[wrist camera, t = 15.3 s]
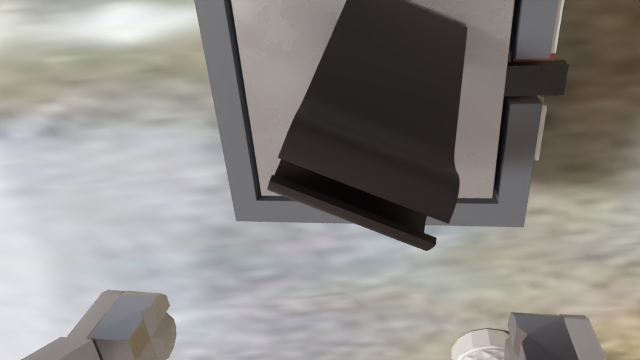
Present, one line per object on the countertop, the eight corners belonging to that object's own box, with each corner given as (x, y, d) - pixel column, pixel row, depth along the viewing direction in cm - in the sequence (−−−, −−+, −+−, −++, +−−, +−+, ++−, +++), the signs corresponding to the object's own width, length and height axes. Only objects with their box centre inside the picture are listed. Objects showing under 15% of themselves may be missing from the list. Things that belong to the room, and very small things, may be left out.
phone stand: (355, -21, 24) (319, 37, 13) (467, 26, 24) (517, 118, 14) (297, 134, 28) (237, 266, 18) (392, 171, 29) (386, 322, 18)
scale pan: (585, -75, 22) (594, -74, 21) (541, 188, 29) (546, 199, 28) (231, -49, 25) (223, -47, 24) (266, 186, 32) (261, 195, 31)
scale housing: (538, -119, 28) (590, -127, 20) (504, 159, 37) (532, 227, 29) (233, -92, 31) (177, -90, 23) (268, 159, 40) (236, 220, 32)
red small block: (553, 49, 27) (556, 52, 26) (549, 78, 28) (552, 81, 27) (511, 51, 27) (513, 54, 27) (508, 79, 28) (510, 82, 28)
